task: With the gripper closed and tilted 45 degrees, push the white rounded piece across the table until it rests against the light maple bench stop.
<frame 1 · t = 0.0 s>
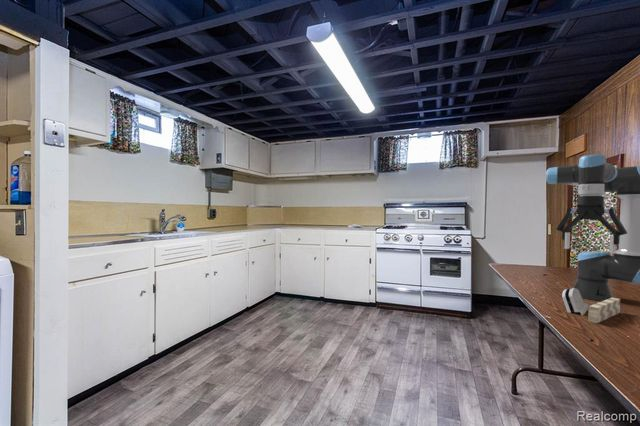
hand: (588, 251, 115), 28 cm above the table, tool pointing down, fingers open, 13 cm apart
bench stop: (604, 316, 123), on the table
white rounded piece: (574, 309, 132), on the table
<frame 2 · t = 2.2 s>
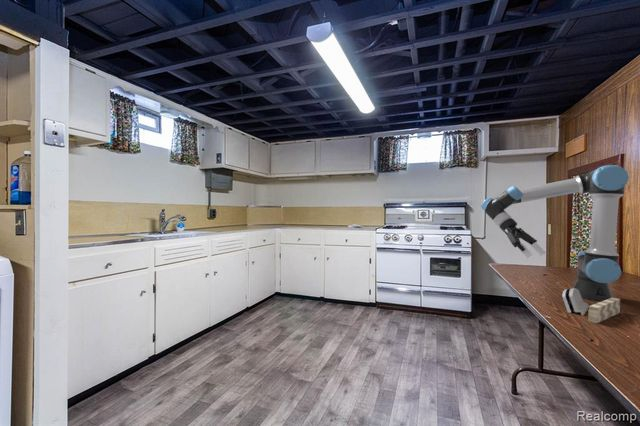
hand: (536, 255, 145), 22 cm above the table, tool tilted 45°, fingers open, 13 cm apart
nothing on the table moved.
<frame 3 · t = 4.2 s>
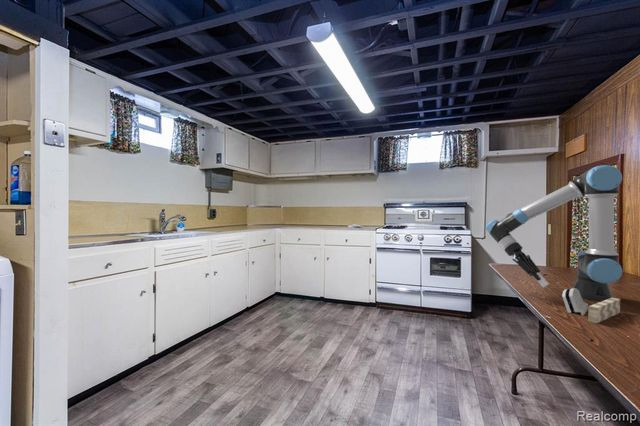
hand: (546, 285, 141), 8 cm above the table, tool tilted 45°, fingers closed
nothing on the table moved.
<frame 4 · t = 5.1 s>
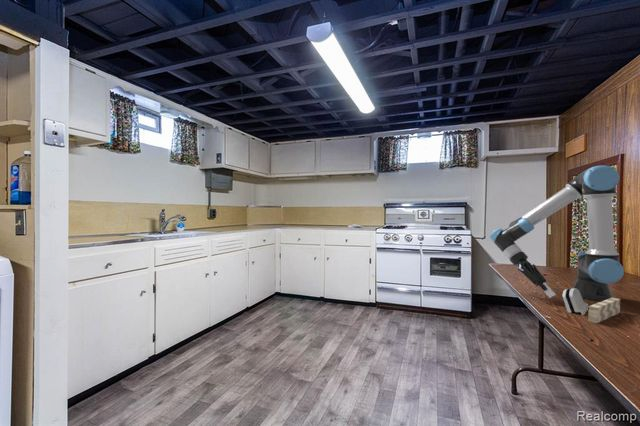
hand: (552, 296, 139), 4 cm above the table, tool tilted 45°, fingers closed
nothing on the table moved.
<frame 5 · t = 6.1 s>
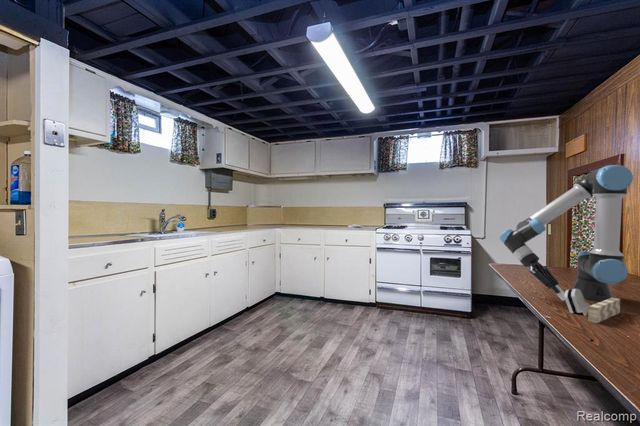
hand: (565, 299, 135), 4 cm above the table, tool tilted 45°, fingers closed
white rounded piece: (576, 310, 132), on the table, touching gripper
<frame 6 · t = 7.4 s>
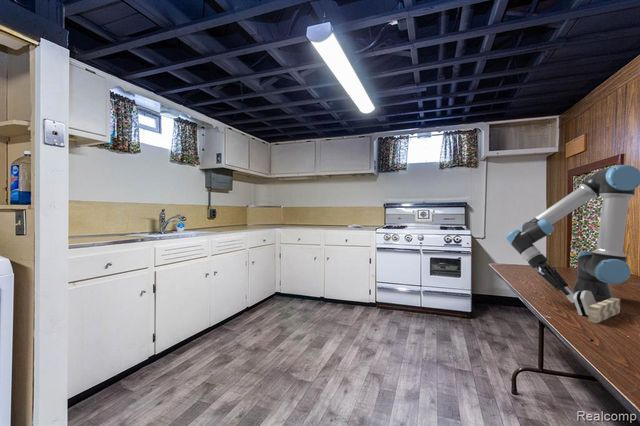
hand: (575, 301, 132), 4 cm above the table, tool tilted 45°, fingers closed
white rounded piece: (587, 312, 129), on the table, touching bench stop
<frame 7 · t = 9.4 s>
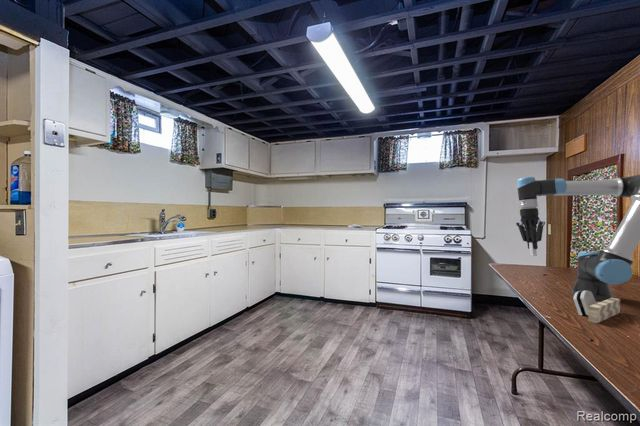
hand: (533, 255, 148), 21 cm above the table, tool pointing down, fingers closed
white rounded piece: (587, 312, 129), on the table
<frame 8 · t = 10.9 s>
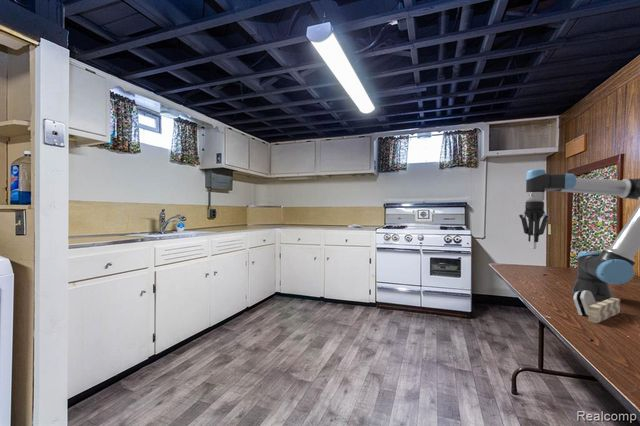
hand: (533, 248, 148), 24 cm above the table, tool pointing down, fingers closed
nothing on the table moved.
at the end: white rounded piece inside the target area on the table beside the bench stop (1.6 cm from its centre), on the table; white rounded piece moved 4.1 cm from its start; white rounded piece tilted 1° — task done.
